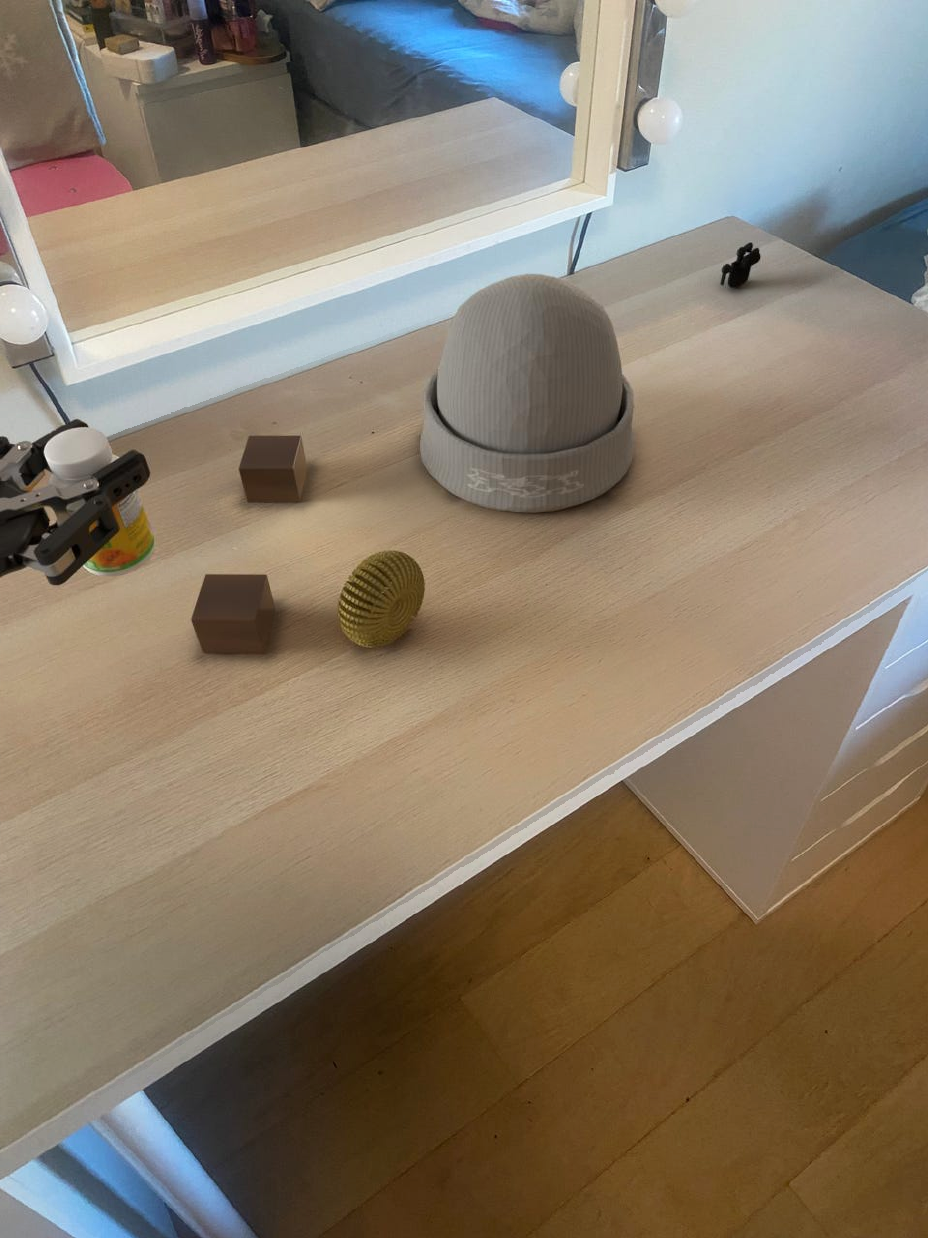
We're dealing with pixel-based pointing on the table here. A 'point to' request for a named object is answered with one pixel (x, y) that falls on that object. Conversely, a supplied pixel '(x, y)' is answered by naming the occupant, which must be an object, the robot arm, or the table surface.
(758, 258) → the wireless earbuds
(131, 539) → the supplement bottle
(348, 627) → the sculpture
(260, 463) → the block far
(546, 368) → the beanie hat
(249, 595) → the block near
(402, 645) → the table surface
